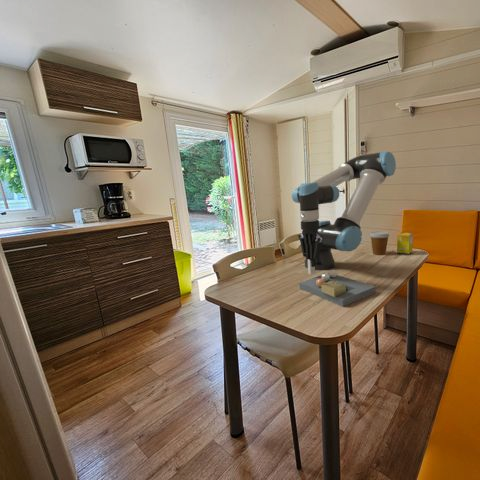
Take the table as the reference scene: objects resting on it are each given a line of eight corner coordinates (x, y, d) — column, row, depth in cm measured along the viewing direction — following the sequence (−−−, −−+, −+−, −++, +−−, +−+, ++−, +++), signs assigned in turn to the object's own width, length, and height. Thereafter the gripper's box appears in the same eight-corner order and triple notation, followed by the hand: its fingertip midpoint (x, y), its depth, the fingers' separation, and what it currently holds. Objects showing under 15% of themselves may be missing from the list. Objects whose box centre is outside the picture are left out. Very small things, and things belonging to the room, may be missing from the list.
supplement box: (400, 251, 149) (400, 232, 146) (412, 252, 144) (413, 233, 142) (396, 253, 145) (397, 234, 143) (409, 255, 140) (409, 235, 138)
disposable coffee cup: (381, 256, 141) (381, 235, 139) (366, 253, 150) (366, 233, 147) (392, 253, 146) (393, 232, 143) (376, 250, 154) (377, 230, 152)
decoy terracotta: (314, 286, 104) (314, 278, 103) (320, 284, 106) (320, 276, 105) (320, 289, 101) (320, 281, 100) (327, 287, 103) (326, 278, 102)
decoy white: (327, 277, 113) (327, 269, 112) (332, 275, 114) (332, 267, 114) (333, 279, 110) (333, 271, 109) (339, 277, 111) (339, 269, 111)
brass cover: (321, 291, 98) (321, 284, 98) (332, 287, 101) (332, 280, 100) (334, 296, 93) (334, 289, 92) (345, 292, 96) (345, 284, 95)
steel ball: (319, 281, 109) (319, 273, 109) (325, 279, 111) (325, 271, 110) (325, 283, 106) (325, 275, 106) (331, 281, 108) (331, 273, 107)
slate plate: (299, 288, 110) (299, 282, 110) (329, 277, 119) (329, 272, 118) (342, 306, 91) (342, 299, 91) (375, 292, 100) (375, 286, 99)
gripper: (292, 220, 114) (295, 271, 119) (314, 222, 103) (316, 279, 108) (305, 217, 118) (307, 268, 123) (328, 219, 107) (329, 274, 111)
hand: (311, 273), depth 115 cm, fingers closed
